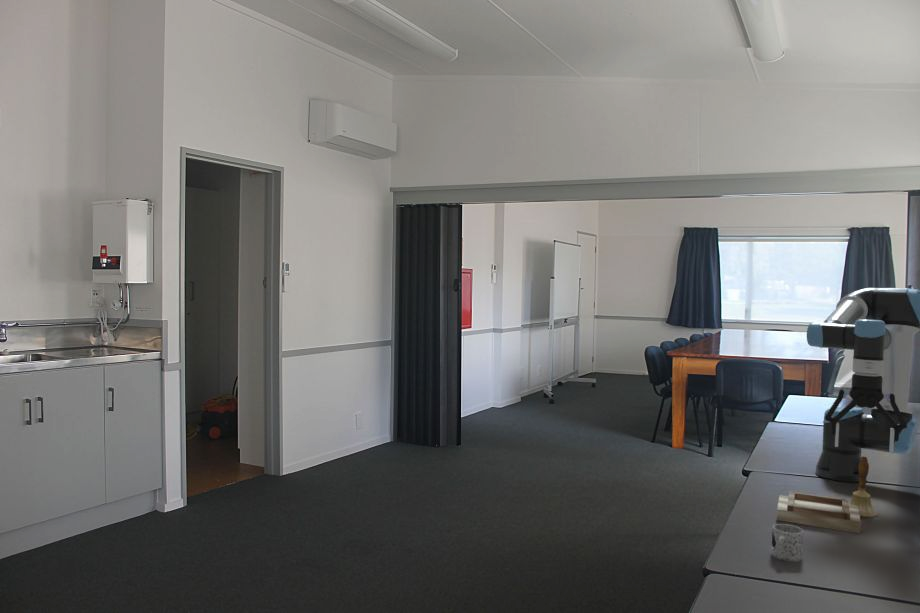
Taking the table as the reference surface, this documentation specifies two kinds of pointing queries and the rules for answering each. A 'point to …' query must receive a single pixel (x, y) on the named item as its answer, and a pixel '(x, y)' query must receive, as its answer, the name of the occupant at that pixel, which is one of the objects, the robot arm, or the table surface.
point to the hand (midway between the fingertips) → (863, 449)
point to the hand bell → (863, 492)
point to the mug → (787, 542)
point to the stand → (819, 511)
